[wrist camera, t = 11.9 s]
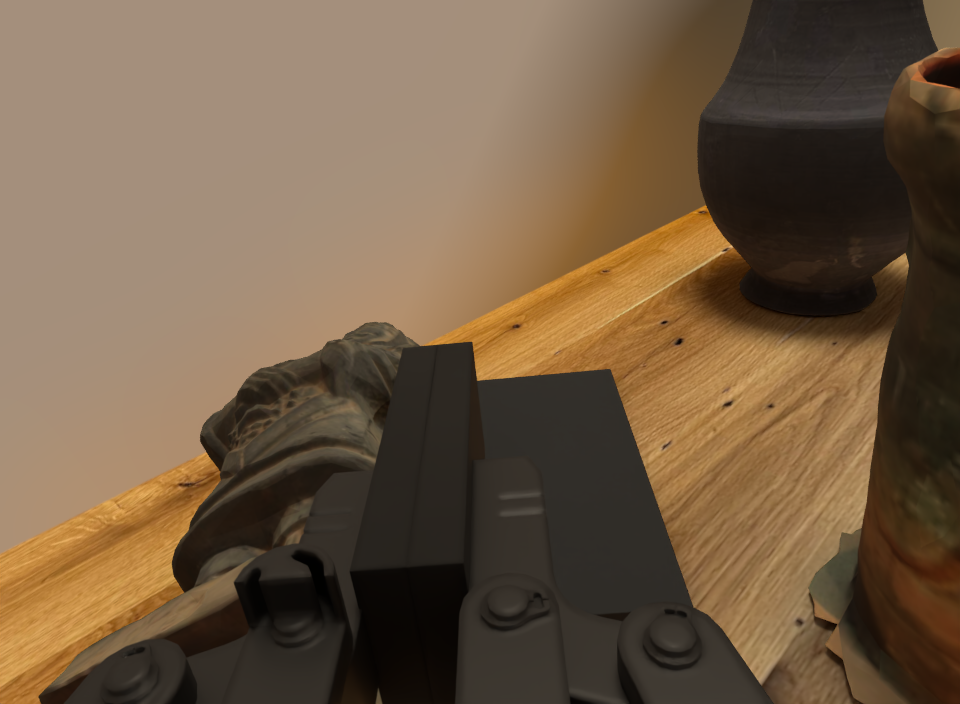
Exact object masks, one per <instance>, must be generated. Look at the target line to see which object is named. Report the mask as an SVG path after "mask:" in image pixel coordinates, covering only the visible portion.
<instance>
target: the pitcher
mask: <svg viewBox="0 0 960 704" xmlns="http://www.w3.org/2000/svg"><path fill="white" fill-rule="evenodd" d="M937 51H938V49H937V47H936V44H935V42H934V40H933V38H932V34H931V31H930V28H929V25H928V21H927V18H926V14H925V11H924V5H923V0H753V2H752V5H751V9H750V13H749V16H748V20H747V24H746V28H745V31H744V35H743V37H742V40H741V43H740V46H739V49H738V52H737V55H736V57H735V59H734V62H733V64H732V66H731V68H730V71H729V73H728V75H727V77H726V79H725V81H724V83H723V84H722V86H721V87H720V89H719V90H718V92H717V93H716V95H715V96H714V97H713V99H712V100H711V101H710V102H709V104H708V105H707V106H706V107H705V109H704V111H703V112H702V114H701V117H700V122H699V131H698V174H699V180H700V187H701V191H702V193H703V197H704V199H705V203H706V206H707V208H708V210H709V212H710V215H711V217H712V219H713V221H714V223H715V224H716V226H717V227H718V229H719V230H720V232H721V233H722V235H723V236H724V237H725V238H726V240H727V241H728V242H729V243H730V244H731V245H732V246H733V247H734V248H735V249H736V250H737V252H738V253H739V254H740V255H741V256H742V257H743V258H744V259H745V260H746V262H747V263H748V264H749V265H750V266H751V269H750V270H749V271H748V272H747V273H746V275H745V276H744V277H743V279H742V280H741V282H740V291H741V292H742V294H743V295H744V296H745V297H746V298H747V299H748V300H750V301H752V302H754V303H756V304H759V305H761V306H764V307H767V308H770V309H773V310H776V311H780V312H784V313H790V314H798V315H839V314H847V313H853V312H857V311H860V310H862V309H864V308H866V307H867V306H868V305H869V304H871V303H872V302H873V301H874V300H875V298H876V296H877V291H876V286H875V284H874V281H873V279H872V277H871V276H873V275H874V274H876V273H877V272H879V271H880V270H882V269H883V268H884V267H885V266H887V265H888V264H889V263H891V262H892V261H894V260H895V259H897V258H898V257H900V256H901V255H903V254H904V253H906V249H907V245H908V238H909V228H910V220H911V217H912V210H911V205H910V201H909V197H908V192H907V188H906V186H905V184H904V182H903V181H902V179H901V177H900V176H899V175H898V173H897V172H896V170H895V169H894V167H893V166H892V165H891V163H890V162H889V160H888V159H887V155H886V151H885V146H884V142H883V137H884V115H885V112H886V108H887V105H888V102H889V99H890V95H891V92H892V90H893V87H894V85H895V83H896V81H897V79H898V78H899V76H900V74H901V72H902V71H903V69H904V68H906V67H908V66H910V65H912V64H914V63H916V62H918V61H920V60H922V59H924V58H926V57H927V56H929V55H931V54H933V53H935V52H937Z"/></svg>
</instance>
